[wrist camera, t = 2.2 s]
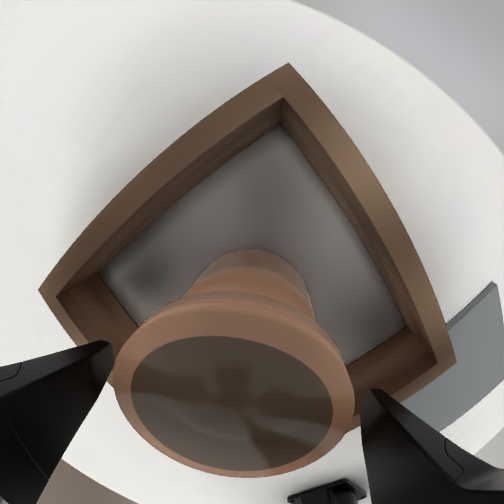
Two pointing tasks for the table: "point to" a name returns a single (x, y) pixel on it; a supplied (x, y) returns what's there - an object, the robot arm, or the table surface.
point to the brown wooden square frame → (338, 182)
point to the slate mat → (466, 363)
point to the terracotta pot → (237, 373)
